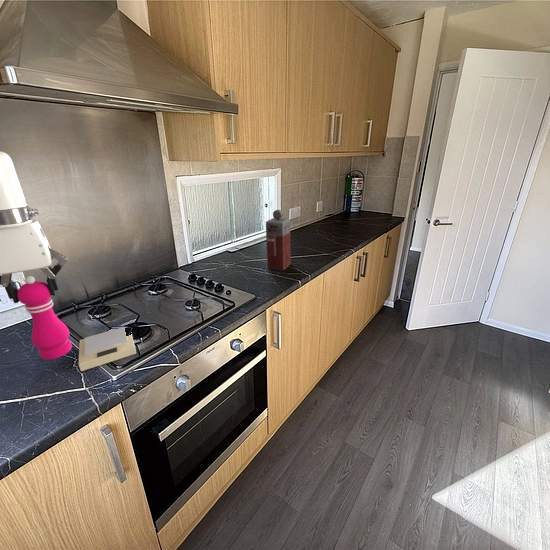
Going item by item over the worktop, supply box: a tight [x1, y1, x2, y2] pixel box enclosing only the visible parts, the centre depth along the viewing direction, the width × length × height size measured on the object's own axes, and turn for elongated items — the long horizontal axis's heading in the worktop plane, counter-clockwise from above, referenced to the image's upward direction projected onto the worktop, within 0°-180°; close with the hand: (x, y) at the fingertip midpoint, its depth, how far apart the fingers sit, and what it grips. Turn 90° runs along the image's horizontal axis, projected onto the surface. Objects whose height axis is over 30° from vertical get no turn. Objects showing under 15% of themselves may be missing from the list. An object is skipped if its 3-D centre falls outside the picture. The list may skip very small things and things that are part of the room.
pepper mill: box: [17, 275, 73, 360], centre depth 68 cm, size 7×7×20 cm
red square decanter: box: [265, 209, 292, 271], centre depth 140 cm, size 9×11×28 cm
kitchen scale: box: [78, 326, 137, 372], centre depth 87 cm, size 14×13×3 cm
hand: (36, 296), depth 66 cm, fingers closed on pepper mill, 6 cm apart
